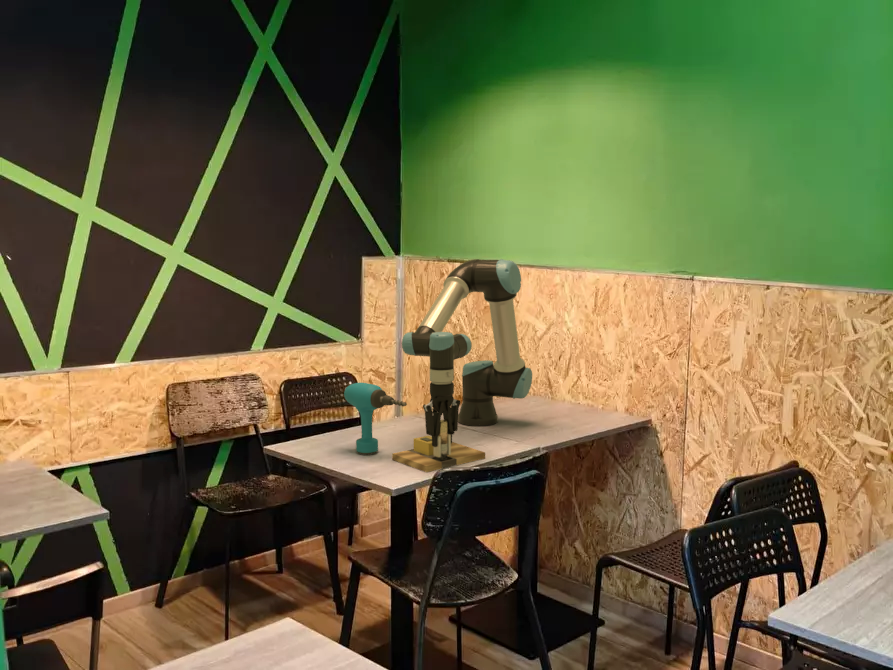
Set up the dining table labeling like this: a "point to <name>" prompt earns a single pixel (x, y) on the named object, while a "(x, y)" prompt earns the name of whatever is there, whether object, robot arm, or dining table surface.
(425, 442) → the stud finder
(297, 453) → the dining table surface
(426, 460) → the subfloor panel
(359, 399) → the power drill
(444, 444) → the brass cylinder rod
